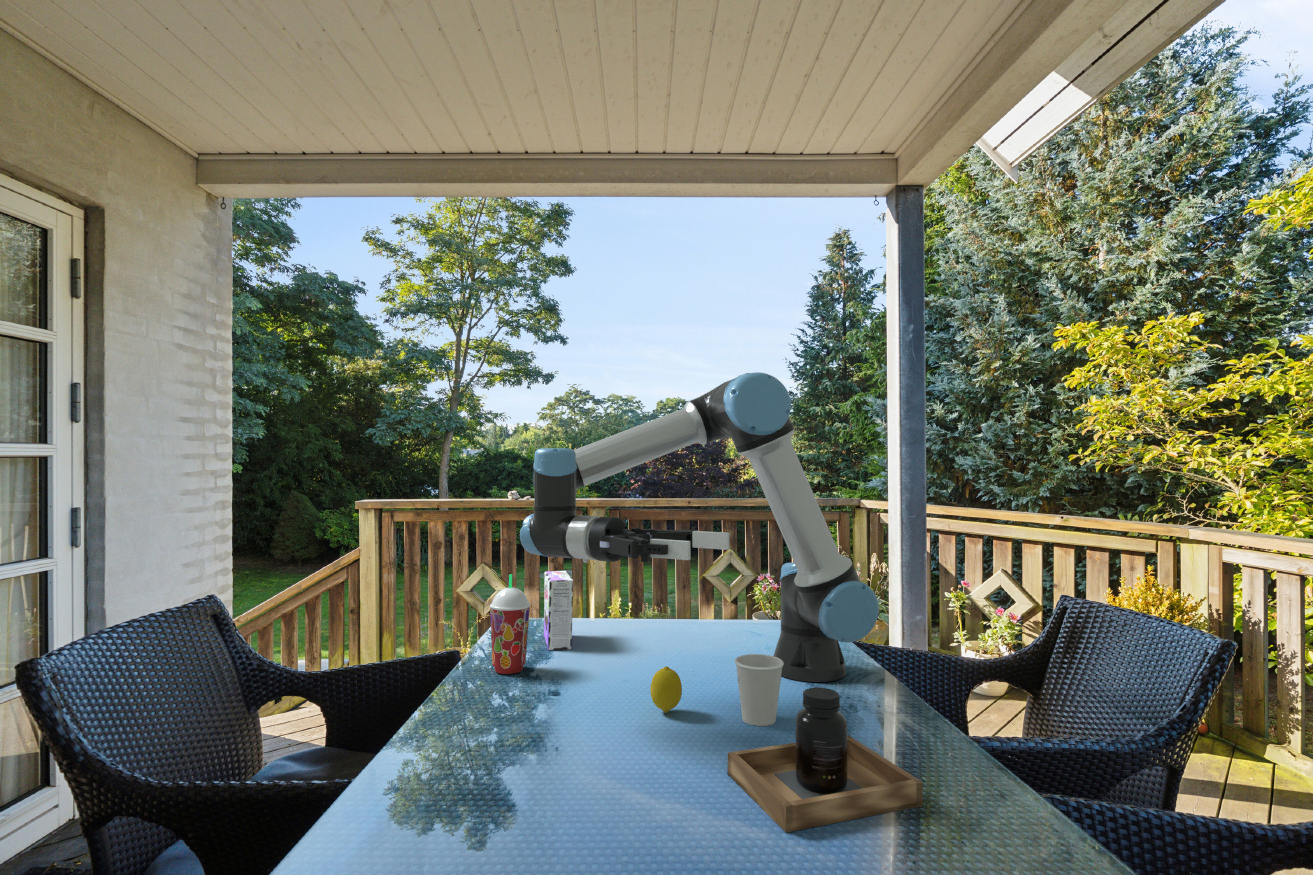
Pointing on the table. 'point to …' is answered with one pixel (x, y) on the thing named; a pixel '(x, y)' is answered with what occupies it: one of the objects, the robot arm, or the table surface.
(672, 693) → the lemon
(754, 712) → the dixie cup
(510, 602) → the smoothie
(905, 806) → the tray
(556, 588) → the candy box
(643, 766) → the table surface
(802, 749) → the supplement bottle
